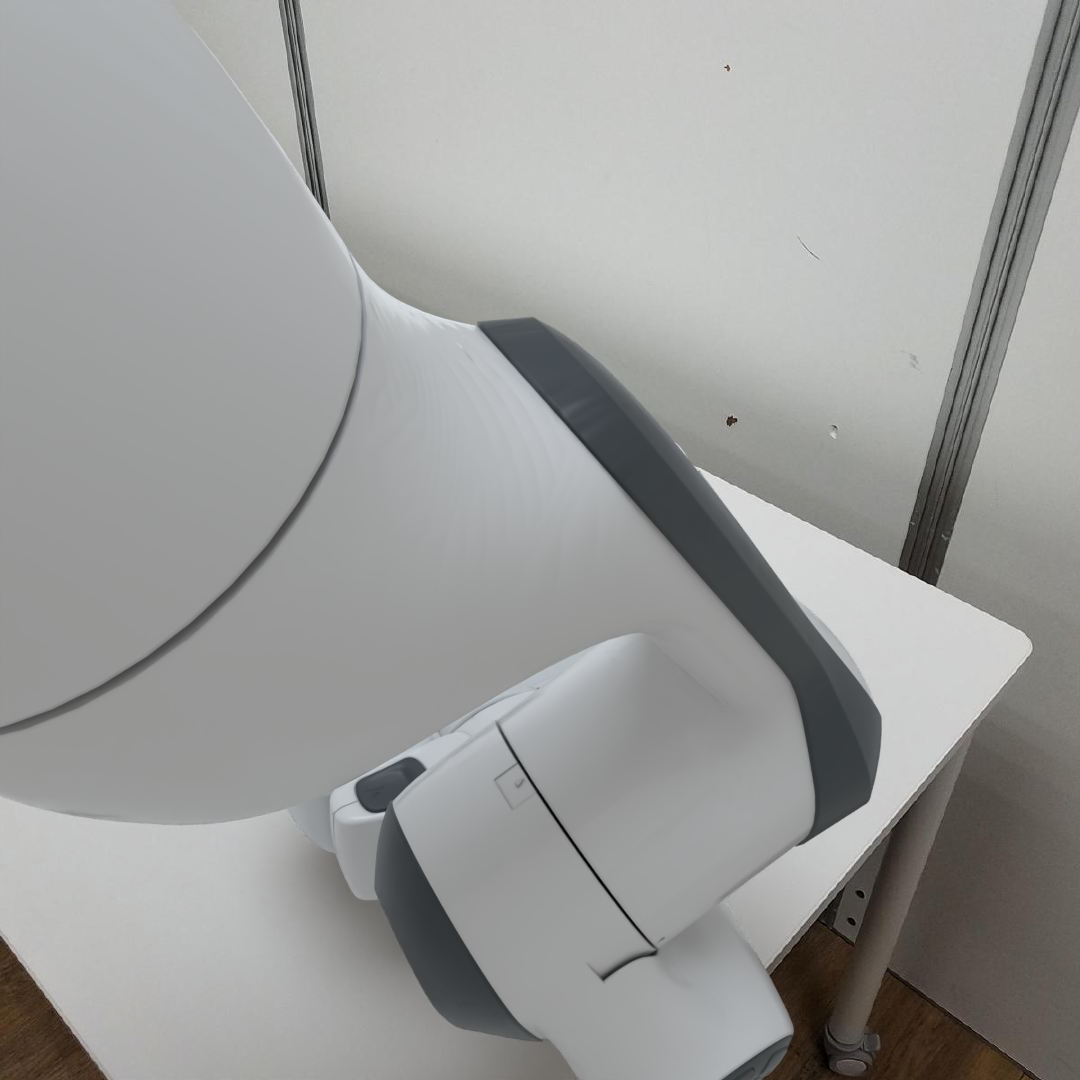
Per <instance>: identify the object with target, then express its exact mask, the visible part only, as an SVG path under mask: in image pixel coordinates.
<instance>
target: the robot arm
mask: <svg viewBox="0 0 1080 1080" xmlns="http://www.w3.org/2000/svg"><path fill="white" fill-rule="evenodd" d="M676 443H677V442H675V440H674V439H673V438H672V437H671V435H669V433H668V432H667V431H666V429H664V427H663V426H662V425H661V424H660V423H659V422H658V421H657V419H655V417H654V416H653V415H652V414H651V413H650V412H649V411H648V409H646V408H645V406H644V405H643V404H642V403H641V402H640V401H639V400H638V399H637V398H636V397H635V395H634V394H633V393H632V392H631V391H630V390H629V389H628V388H627V387H626V386H625V385H624V384H623V383H622V382H621V381H620V380H619V379H618V378H617V377H616V376H615V375H614V373H612V372H611V371H610V370H609V369H608V368H607V367H606V366H604V364H603V363H601V362H600V361H599V360H598V359H597V358H596V357H595V356H593V355H592V354H591V353H589V351H588V350H586V349H585V348H583V347H582V346H581V345H580V344H579V343H577V342H576V341H575V340H573V339H571V338H570V337H568V336H567V335H565V334H564V333H563V332H561V331H559V330H558V329H557V328H555V327H553V326H551V325H550V324H548V323H545V322H543V320H542V321H541V320H540V319H538V318H536V317H534V316H527V317H525V316H524V317H513V318H503V319H491V320H489V319H488V320H479V321H476V325H474V324H469V323H465V322H461V321H456V320H452V319H448V318H444V317H441V316H437V315H434V314H431V313H429V312H426V311H423V310H420V309H418V308H416V307H414V306H411V305H409V304H407V303H405V302H403V301H401V300H399V299H397V298H396V297H394V296H392V295H391V294H390V293H388V292H387V291H385V290H384V289H383V288H381V286H379V285H377V283H376V282H374V281H373V280H372V279H371V277H369V276H368V275H367V273H366V272H365V271H364V269H363V268H362V267H361V266H360V264H359V263H358V262H357V260H356V259H355V257H354V256H353V254H352V253H351V251H350V249H349V248H348V247H347V245H346V244H345V242H344V241H343V239H342V237H341V236H340V234H339V233H338V231H337V230H336V228H335V227H334V225H333V223H332V222H331V220H330V218H328V215H327V214H326V213H325V211H324V209H323V208H322V207H321V205H320V204H319V201H317V199H316V198H315V196H314V194H313V193H312V192H311V190H310V188H309V187H308V185H307V184H306V182H305V181H304V179H303V177H302V176H301V175H300V173H299V172H298V170H297V169H296V167H295V166H294V164H293V162H292V161H291V159H290V158H289V157H288V155H287V153H286V152H285V150H284V149H283V147H282V145H281V144H280V143H279V142H278V140H277V139H276V137H275V136H274V135H273V133H272V132H271V131H270V129H269V128H268V127H267V125H266V124H265V122H264V121H263V120H262V118H261V117H260V115H259V114H258V113H257V112H256V110H255V108H254V107H253V106H252V104H251V103H250V102H249V100H248V99H247V98H246V97H245V95H244V94H243V92H242V91H241V90H240V88H239V87H238V85H237V84H236V83H235V81H234V80H233V79H232V77H231V76H230V74H229V73H228V72H227V70H226V69H225V67H224V66H223V65H222V63H221V61H219V59H218V58H217V57H216V55H215V54H214V52H212V50H211V49H210V47H208V45H207V44H206V43H205V42H204V40H203V39H202V38H201V37H200V35H199V34H198V32H197V31H196V30H195V29H194V28H193V27H192V25H191V24H190V23H189V21H188V20H187V19H186V18H185V17H184V16H183V14H182V13H181V11H179V9H178V8H177V6H176V5H175V4H174V3H173V2H172V0H0V798H4V799H6V800H9V801H12V802H15V803H18V804H22V805H24V806H29V807H32V808H35V809H39V810H43V811H46V812H52V813H55V814H61V815H67V816H73V817H79V818H83V819H92V820H99V821H108V822H115V823H128V824H139V825H141V824H142V825H161V826H197V825H211V824H212V825H214V824H223V823H230V822H237V821H243V820H247V819H252V818H258V817H262V816H265V815H269V814H273V813H276V812H280V811H283V810H286V811H287V812H288V814H289V815H290V817H291V818H292V819H293V821H294V822H295V824H296V825H297V827H298V828H299V829H300V831H301V832H302V833H303V834H304V835H305V837H306V838H307V839H308V840H309V841H310V842H312V843H313V844H314V845H315V846H317V847H319V848H321V849H322V850H324V851H326V852H330V853H333V854H335V857H336V860H337V863H338V866H339V868H340V871H341V873H342V875H343V878H344V880H345V882H346V884H347V886H348V888H349V890H350V892H352V894H353V896H354V897H356V898H357V899H359V900H362V901H377V900H378V902H379V904H380V906H381V909H382V911H383V913H384V915H385V917H386V919H387V921H388V923H389V926H390V927H391V929H392V932H393V934H394V936H395V939H396V940H397V942H398V944H399V946H400V949H401V950H402V952H403V954H404V956H405V958H406V960H407V963H408V964H409V966H410V969H411V971H412V972H413V974H414V976H415V978H416V980H417V982H418V984H419V985H420V987H421V989H422V991H423V992H424V995H426V997H427V999H428V1000H429V1002H430V1004H431V1005H432V1007H433V1008H434V1010H435V1011H436V1012H437V1013H438V1014H439V1015H440V1016H441V1017H442V1018H443V1019H445V1020H446V1021H447V1022H448V1023H449V1024H451V1025H452V1026H454V1027H456V1028H458V1029H461V1030H463V1031H464V1030H466V1031H470V1032H476V1033H481V1034H486V1035H492V1036H497V1037H502V1038H506V1039H512V1040H518V1041H524V1042H537V1043H542V1042H543V1040H544V1039H547V1040H549V1042H550V1043H552V1045H554V1047H555V1048H556V1049H557V1050H558V1051H559V1052H560V1054H561V1056H562V1057H563V1059H564V1060H565V1061H566V1063H567V1065H568V1067H570V1069H571V1071H572V1072H573V1073H574V1075H575V1076H576V1078H577V1079H578V1080H763V1079H764V1078H765V1077H768V1076H769V1075H770V1074H771V1073H772V1072H773V1071H774V1070H775V1069H776V1068H777V1067H778V1065H779V1064H780V1063H781V1061H782V1060H783V1059H784V1057H785V1055H786V1053H788V1049H789V1045H790V1043H791V1041H792V1038H793V1036H794V1033H795V1031H794V1030H795V1029H794V1024H793V1022H792V1019H791V1016H790V1015H789V1012H788V1009H787V1008H786V1006H785V1003H784V1002H783V1000H782V997H781V996H780V994H779V992H778V990H777V988H776V986H775V984H774V982H773V980H772V978H771V976H770V974H769V973H768V970H767V968H766V967H765V966H764V964H763V962H762V960H761V958H760V956H759V955H758V953H757V951H756V949H755V948H754V946H753V944H752V942H751V940H750V939H749V937H748V936H747V934H746V932H745V930H744V929H743V927H742V925H741V924H740V922H739V920H738V919H737V917H736V915H735V913H734V912H733V911H732V909H731V908H730V906H729V905H728V903H727V901H726V899H728V898H729V897H730V896H731V895H733V894H734V893H735V892H736V891H738V890H739V889H740V888H742V887H744V885H746V884H747V883H749V882H750V881H751V880H752V879H754V878H755V877H756V876H758V875H759V874H760V873H762V872H763V871H764V870H767V868H769V866H771V865H772V864H773V863H775V862H776V861H778V860H779V859H780V858H781V857H783V856H784V855H786V854H787V853H789V851H791V850H792V849H793V848H795V847H796V848H797V847H799V846H802V845H805V844H806V843H808V842H809V841H811V840H812V839H814V838H815V837H817V836H819V835H820V834H822V833H824V832H825V831H826V830H829V829H830V828H831V827H834V825H836V824H837V823H840V822H841V821H842V820H844V819H845V818H847V817H848V816H850V815H852V814H853V813H854V812H856V811H858V810H860V809H861V808H863V807H864V806H865V805H867V804H868V803H869V802H870V800H871V798H872V795H873V790H874V786H875V782H876V777H877V774H878V773H877V772H878V767H879V763H880V756H881V748H882V735H883V734H882V732H883V722H882V721H883V718H882V715H881V714H882V713H880V711H879V709H878V707H877V706H876V704H875V701H874V698H873V694H872V691H871V690H870V687H869V685H868V682H867V681H866V678H865V676H864V674H863V673H862V671H861V668H860V667H859V666H858V664H857V663H856V661H855V659H854V658H853V656H852V655H851V653H850V652H849V651H848V648H846V646H845V645H844V644H843V643H842V642H841V640H840V639H839V638H838V636H837V635H836V634H835V633H834V631H832V629H830V627H829V626H828V625H827V624H826V623H825V622H824V621H823V619H821V618H820V617H819V616H818V615H817V614H816V613H815V612H814V611H813V610H811V608H809V607H808V606H807V605H806V604H805V603H803V602H802V601H801V600H799V599H798V598H797V597H795V596H794V595H793V594H791V593H790V591H789V590H788V588H787V587H786V585H785V584H784V583H783V582H782V580H781V579H780V577H779V576H778V574H777V573H776V572H775V570H774V569H773V568H772V566H771V565H770V563H769V562H768V561H767V559H766V558H765V556H764V555H763V554H762V552H761V551H760V549H758V547H757V545H756V544H755V543H754V541H753V540H752V539H751V538H750V536H749V534H747V531H745V529H744V528H743V526H742V525H741V523H739V521H738V520H737V518H736V517H735V516H734V515H733V513H732V512H731V511H730V510H729V508H728V506H726V504H725V503H724V501H723V499H722V498H721V497H720V496H719V494H718V493H717V492H716V491H715V489H714V488H713V486H712V485H711V483H710V482H709V480H707V478H706V477H705V476H704V474H703V473H702V472H701V470H698V468H696V466H695V465H694V464H693V463H692V462H691V460H690V459H689V458H688V456H687V454H686V453H685V452H684V453H685V454H686V455H685V454H684V453H683V452H682V450H683V449H682V448H681V449H682V450H681V449H680V448H679V447H678V446H677V444H678V443H677V444H676ZM686 456H687V457H686Z"/></svg>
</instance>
